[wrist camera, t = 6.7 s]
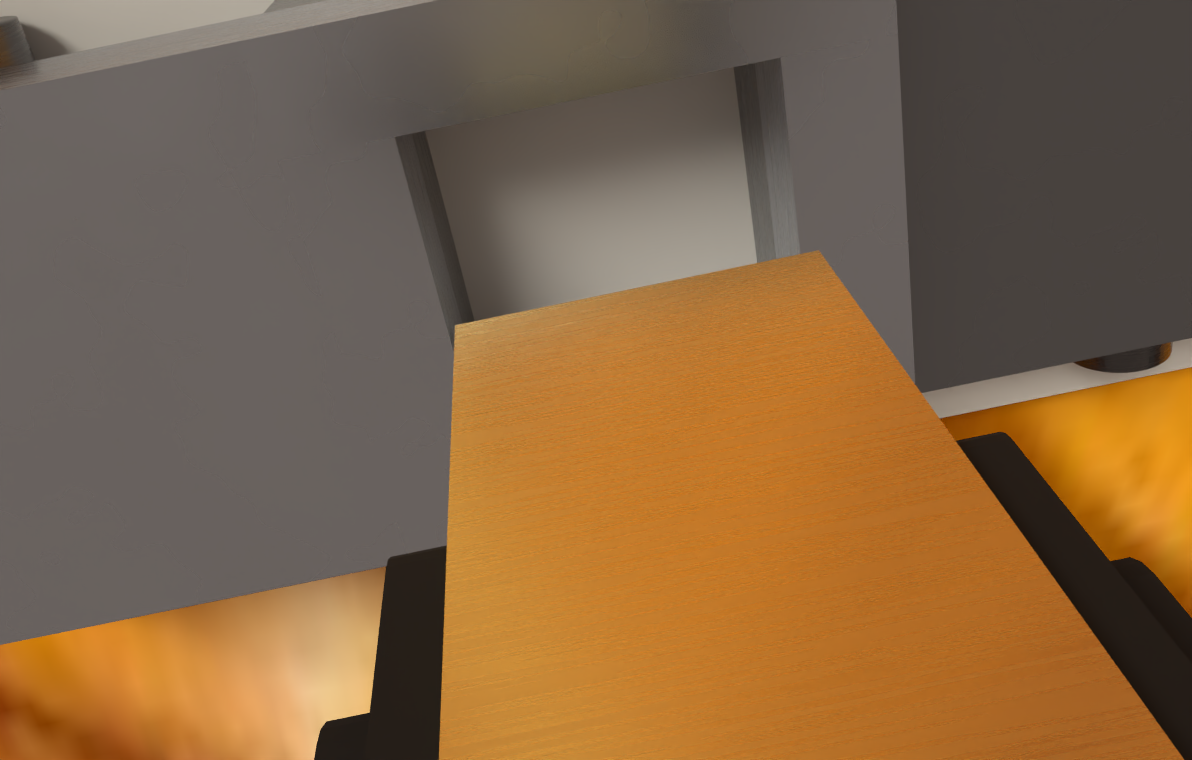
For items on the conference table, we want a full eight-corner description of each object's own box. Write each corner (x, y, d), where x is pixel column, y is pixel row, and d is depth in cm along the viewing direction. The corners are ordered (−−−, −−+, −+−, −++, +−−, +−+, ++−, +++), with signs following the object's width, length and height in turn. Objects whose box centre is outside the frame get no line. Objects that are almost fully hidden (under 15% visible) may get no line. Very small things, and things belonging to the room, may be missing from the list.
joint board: (1384, -378, 19) (1429, -386, 18) (1291, 320, 25) (1320, 340, 24) (-335, -21, 19) (-375, -11, 18) (2, 583, 25) (-15, 612, 24)
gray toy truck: (1383, -270, 18) (1595, -280, 15) (1306, 281, 23) (1454, 372, 20) (-292, 76, 19) (-471, 147, 15) (-23, 553, 23) (-111, 691, 20)
